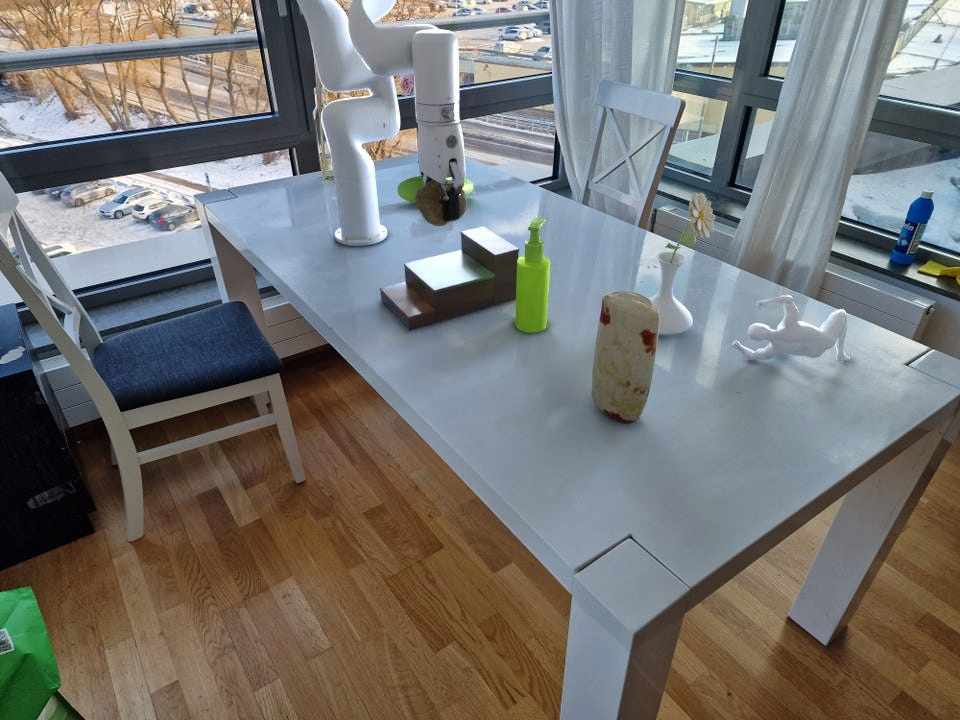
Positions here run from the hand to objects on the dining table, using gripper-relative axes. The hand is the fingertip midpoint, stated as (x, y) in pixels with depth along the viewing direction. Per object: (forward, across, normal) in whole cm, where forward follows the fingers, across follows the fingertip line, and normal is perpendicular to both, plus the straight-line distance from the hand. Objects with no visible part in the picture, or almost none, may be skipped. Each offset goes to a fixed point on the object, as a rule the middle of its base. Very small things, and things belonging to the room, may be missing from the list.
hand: (441, 212), depth 117 cm
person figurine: (+19, -50, -41) cm, 67 cm away
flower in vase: (+19, -30, -31) cm, 46 cm away
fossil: (+1, 0, 0) cm, 1 cm away
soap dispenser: (+19, -17, -10) cm, 27 cm away
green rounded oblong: (+18, +51, -25) cm, 60 cm away
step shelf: (+18, -1, -1) cm, 18 cm away
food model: (+19, -46, -6) cm, 50 cm away
